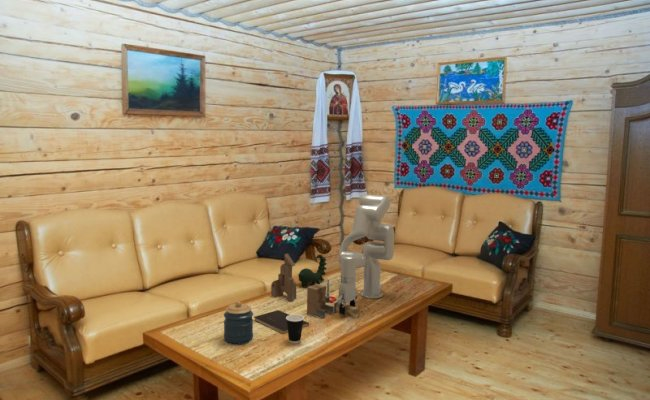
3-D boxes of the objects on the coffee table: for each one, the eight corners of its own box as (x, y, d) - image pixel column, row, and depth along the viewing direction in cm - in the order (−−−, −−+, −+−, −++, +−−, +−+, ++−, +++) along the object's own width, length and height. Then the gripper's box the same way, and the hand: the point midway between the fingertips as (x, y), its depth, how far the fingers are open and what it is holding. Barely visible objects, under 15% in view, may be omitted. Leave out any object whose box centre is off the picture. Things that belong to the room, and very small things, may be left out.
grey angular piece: (316, 309, 265) (316, 283, 263) (333, 313, 258) (334, 287, 256) (306, 313, 258) (307, 287, 256) (323, 318, 251) (324, 291, 250)
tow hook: (322, 297, 286) (319, 302, 277) (323, 275, 285) (320, 279, 276) (336, 298, 284) (334, 303, 275) (337, 276, 283) (335, 280, 274)
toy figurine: (316, 281, 320) (291, 287, 300) (319, 252, 319) (293, 256, 299) (328, 284, 315) (303, 290, 295) (330, 254, 314) (305, 258, 294)
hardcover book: (283, 335, 231) (283, 330, 231) (253, 321, 247) (253, 316, 247) (308, 326, 242) (309, 322, 242) (279, 313, 258) (279, 309, 258)
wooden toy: (270, 296, 285) (270, 253, 282) (278, 293, 290) (279, 251, 287) (290, 302, 275) (291, 257, 272) (298, 299, 281) (299, 255, 277)
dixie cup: (303, 344, 220) (304, 320, 218) (285, 345, 219) (286, 320, 218) (303, 337, 227) (303, 314, 226) (285, 337, 227) (286, 314, 225)
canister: (255, 343, 220) (255, 305, 217) (225, 346, 216) (224, 307, 214) (250, 332, 232) (250, 295, 230) (222, 335, 228) (222, 297, 226)
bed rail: (359, 316, 256) (359, 306, 256) (354, 318, 253) (355, 308, 252) (338, 310, 264) (338, 301, 263) (333, 312, 260) (334, 303, 259)
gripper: (351, 274, 265) (350, 305, 267) (332, 281, 251) (331, 314, 253) (363, 277, 260) (362, 308, 263) (345, 284, 246) (344, 318, 249)
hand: (347, 311), depth 258 cm, fingers open, 9 cm apart
